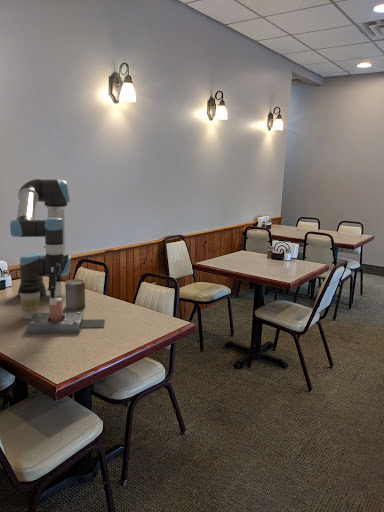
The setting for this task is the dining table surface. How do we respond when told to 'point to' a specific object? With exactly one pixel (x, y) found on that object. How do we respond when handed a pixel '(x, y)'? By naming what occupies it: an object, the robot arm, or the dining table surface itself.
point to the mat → (93, 323)
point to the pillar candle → (75, 294)
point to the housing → (55, 323)
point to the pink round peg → (56, 311)
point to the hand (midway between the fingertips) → (55, 300)
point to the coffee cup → (30, 299)
